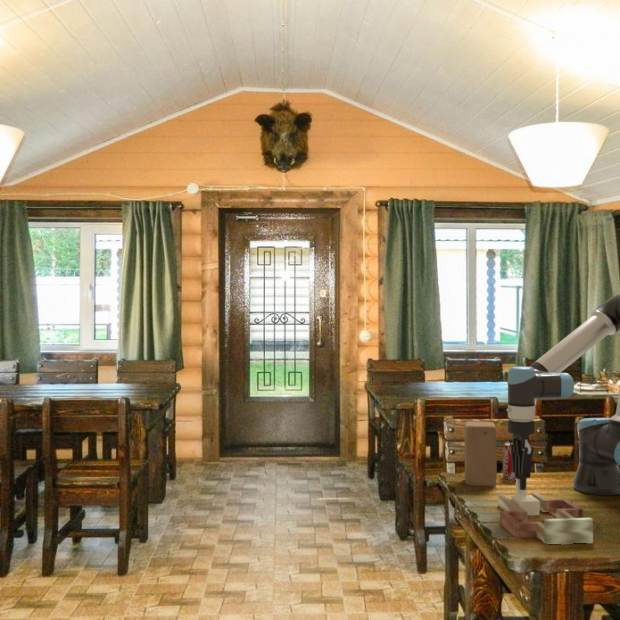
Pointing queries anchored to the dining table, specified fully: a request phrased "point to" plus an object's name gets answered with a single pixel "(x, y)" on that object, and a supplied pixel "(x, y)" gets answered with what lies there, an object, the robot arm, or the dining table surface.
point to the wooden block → (480, 454)
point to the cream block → (527, 504)
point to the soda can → (507, 463)
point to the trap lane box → (547, 521)
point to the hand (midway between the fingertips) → (521, 499)
